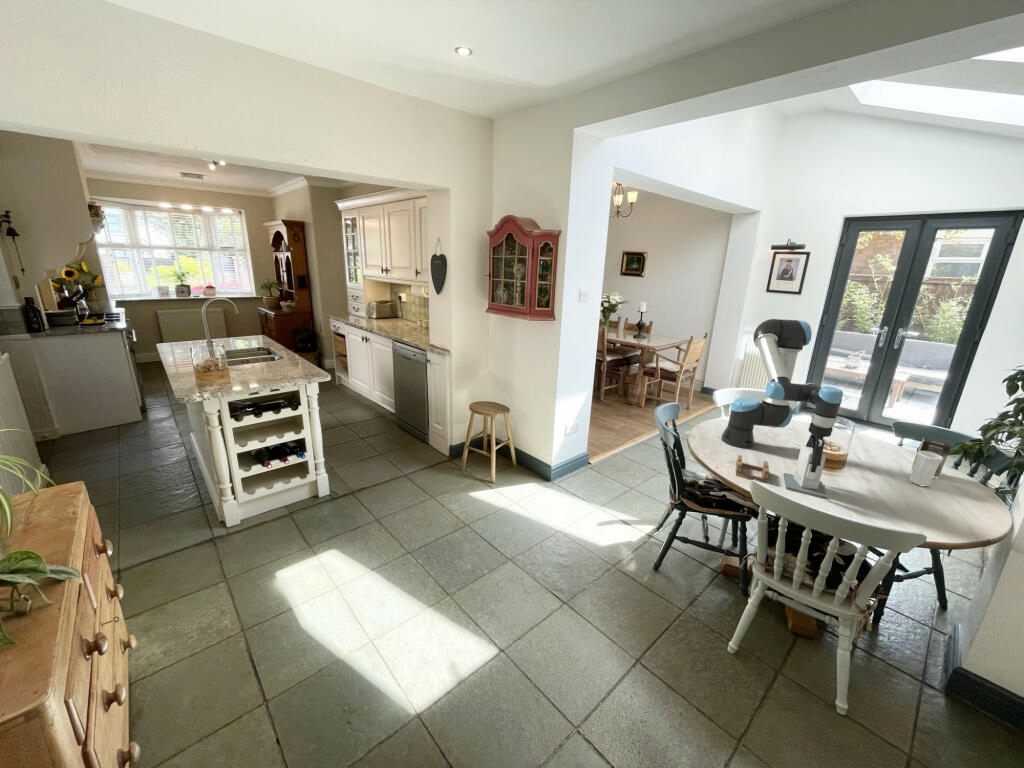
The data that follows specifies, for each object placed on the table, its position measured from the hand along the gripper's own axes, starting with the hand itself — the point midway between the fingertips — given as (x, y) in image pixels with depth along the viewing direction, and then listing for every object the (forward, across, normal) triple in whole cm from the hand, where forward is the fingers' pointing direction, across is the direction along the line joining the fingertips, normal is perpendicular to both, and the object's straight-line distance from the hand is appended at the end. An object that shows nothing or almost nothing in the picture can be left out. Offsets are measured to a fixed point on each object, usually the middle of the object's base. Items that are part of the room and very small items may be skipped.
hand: (808, 471), depth 174 cm
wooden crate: (+7, 0, -20) cm, 21 cm away
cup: (+8, -32, +46) cm, 57 cm away
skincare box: (+6, 0, 0) cm, 6 cm away
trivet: (+7, 0, 0) cm, 7 cm away
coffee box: (+8, -47, +52) cm, 70 cm away
